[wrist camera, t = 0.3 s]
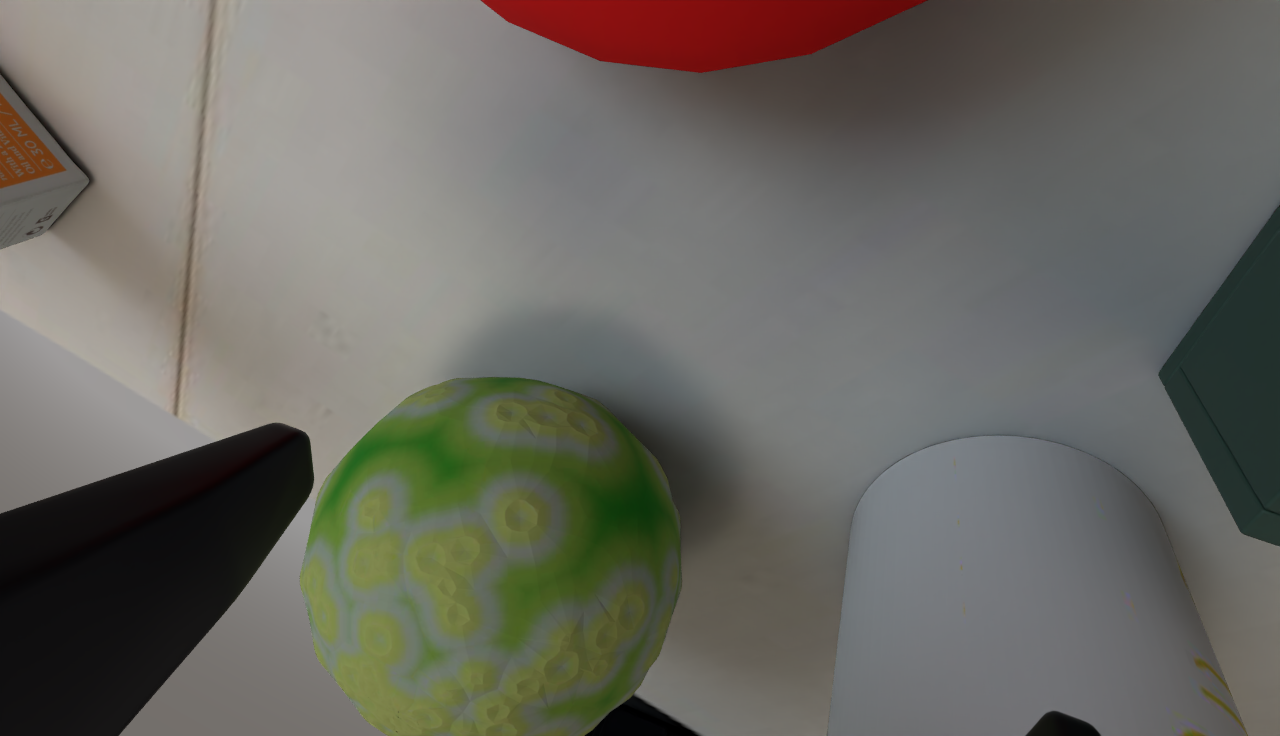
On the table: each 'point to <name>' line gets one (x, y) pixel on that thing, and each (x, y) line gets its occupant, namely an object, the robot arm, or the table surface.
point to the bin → (1237, 386)
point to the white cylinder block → (1018, 602)
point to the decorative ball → (492, 563)
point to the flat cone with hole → (696, 28)
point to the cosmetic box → (31, 173)
